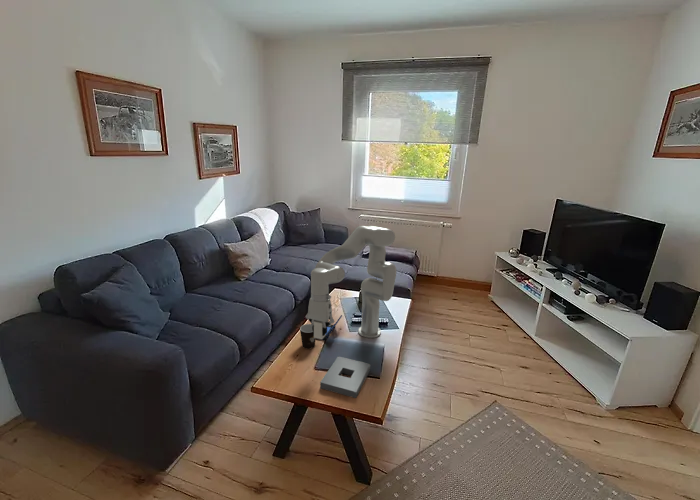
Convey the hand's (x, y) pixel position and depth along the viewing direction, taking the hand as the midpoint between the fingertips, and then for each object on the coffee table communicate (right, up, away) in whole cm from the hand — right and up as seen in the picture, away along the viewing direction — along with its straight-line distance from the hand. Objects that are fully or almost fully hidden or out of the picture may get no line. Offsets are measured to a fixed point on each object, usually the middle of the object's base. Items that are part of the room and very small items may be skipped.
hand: (319, 332), depth 151 cm
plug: (0, -2, +1) cm, 2 cm away
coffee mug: (-6, -12, +21) cm, 25 cm away
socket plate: (+12, -19, -4) cm, 23 cm away
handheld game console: (+1, -9, +33) cm, 34 cm away
